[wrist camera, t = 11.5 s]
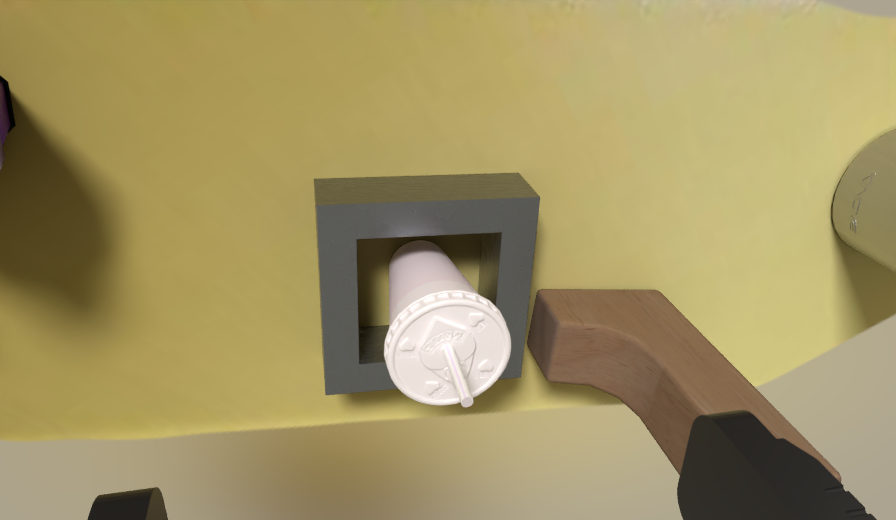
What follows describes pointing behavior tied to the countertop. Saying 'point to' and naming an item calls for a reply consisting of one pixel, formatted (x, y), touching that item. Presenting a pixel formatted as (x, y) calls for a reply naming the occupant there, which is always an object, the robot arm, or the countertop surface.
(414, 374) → the smoothie
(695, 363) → the wooden block
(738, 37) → the countertop surface
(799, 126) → the countertop surface
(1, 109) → the potion bottle
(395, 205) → the frame
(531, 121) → the countertop surface
